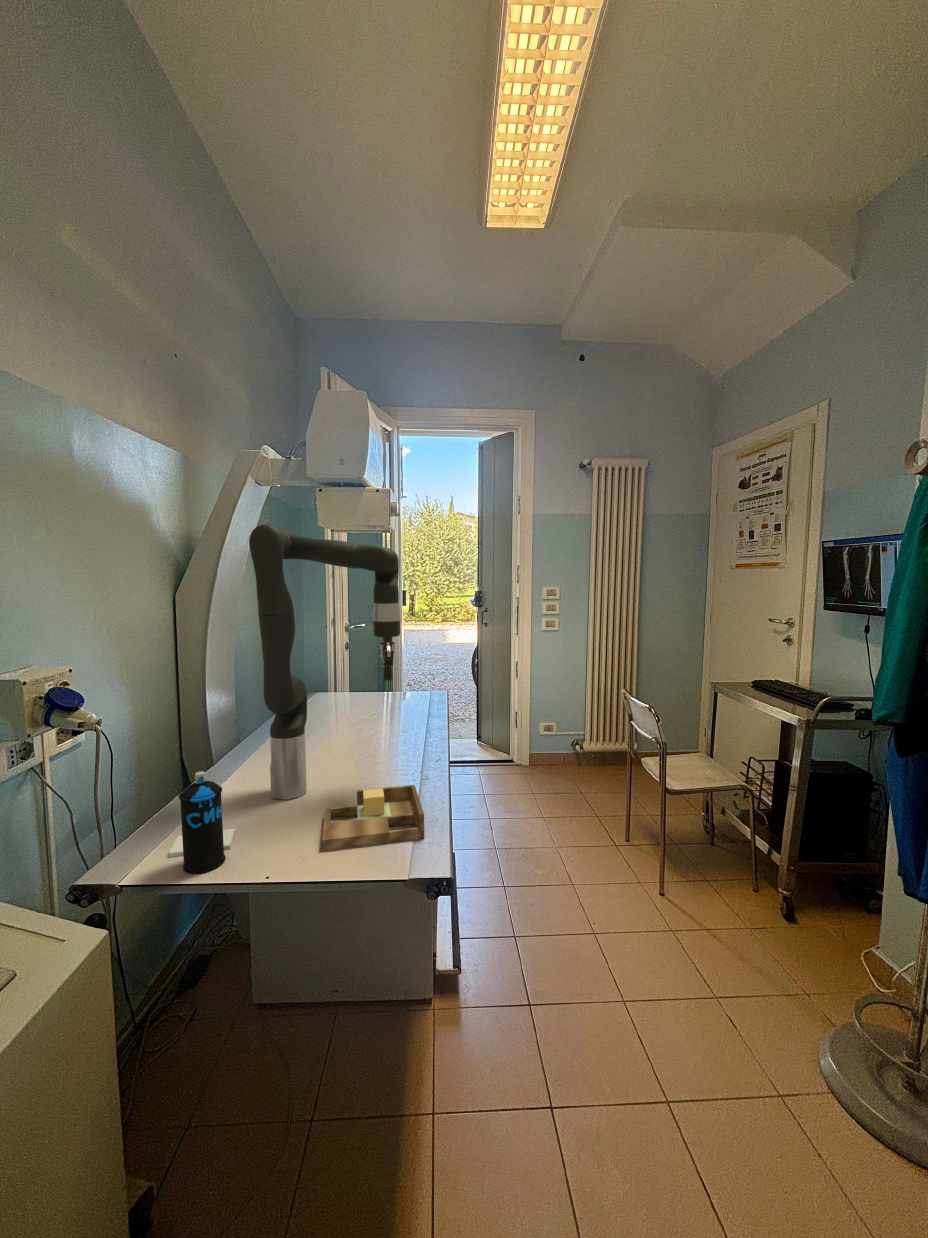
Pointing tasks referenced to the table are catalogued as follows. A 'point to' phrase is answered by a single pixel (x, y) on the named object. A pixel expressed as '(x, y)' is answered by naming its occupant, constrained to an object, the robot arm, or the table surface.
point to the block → (373, 802)
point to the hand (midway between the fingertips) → (387, 679)
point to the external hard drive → (178, 844)
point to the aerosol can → (202, 826)
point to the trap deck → (375, 821)
